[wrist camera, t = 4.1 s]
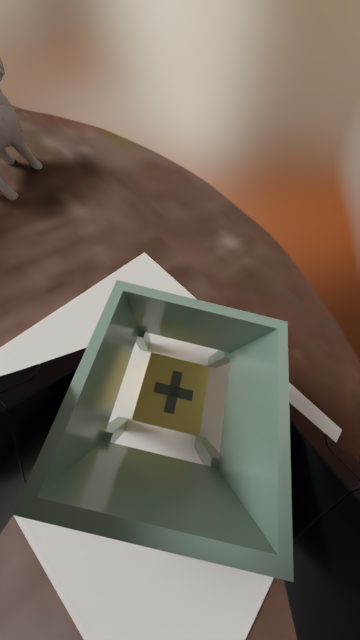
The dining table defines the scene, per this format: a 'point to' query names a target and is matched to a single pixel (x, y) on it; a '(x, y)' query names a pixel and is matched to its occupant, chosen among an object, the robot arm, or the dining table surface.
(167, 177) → the dining table surface
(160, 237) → the dining table surface
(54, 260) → the dining table surface
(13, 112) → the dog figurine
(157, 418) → the plus sign cube
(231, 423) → the green hollow square frame
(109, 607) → the white rectangular sheet
